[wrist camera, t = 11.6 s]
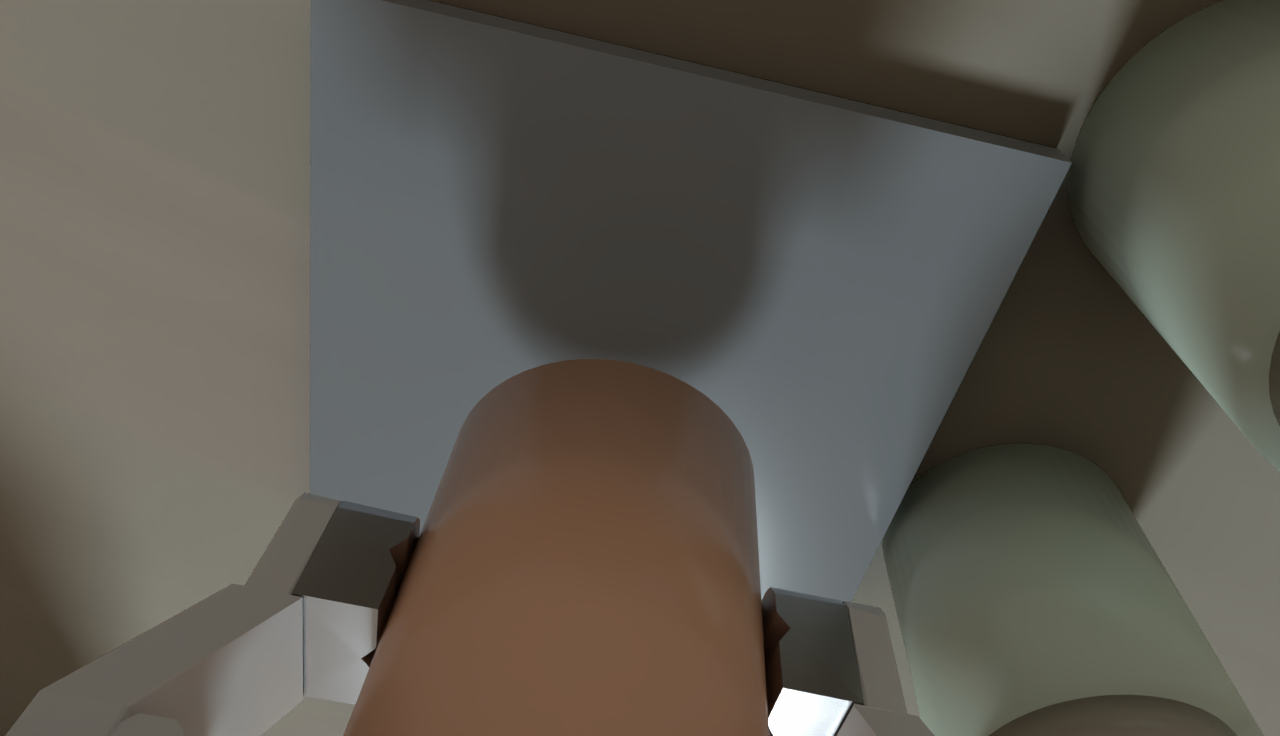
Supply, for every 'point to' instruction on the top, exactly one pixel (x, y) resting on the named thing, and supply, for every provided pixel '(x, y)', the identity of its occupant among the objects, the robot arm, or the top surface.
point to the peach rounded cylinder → (581, 570)
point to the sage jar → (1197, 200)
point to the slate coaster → (645, 259)
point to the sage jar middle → (1046, 607)
